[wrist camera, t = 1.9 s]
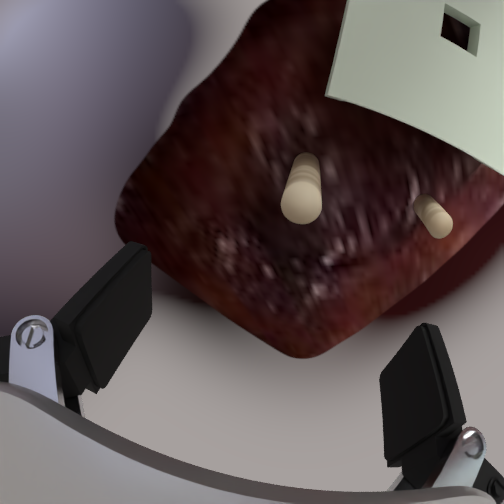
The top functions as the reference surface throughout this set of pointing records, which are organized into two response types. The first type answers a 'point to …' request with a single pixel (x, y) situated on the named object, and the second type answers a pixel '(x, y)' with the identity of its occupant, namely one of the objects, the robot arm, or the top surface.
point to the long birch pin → (303, 190)
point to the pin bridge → (427, 70)
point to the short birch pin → (433, 216)
